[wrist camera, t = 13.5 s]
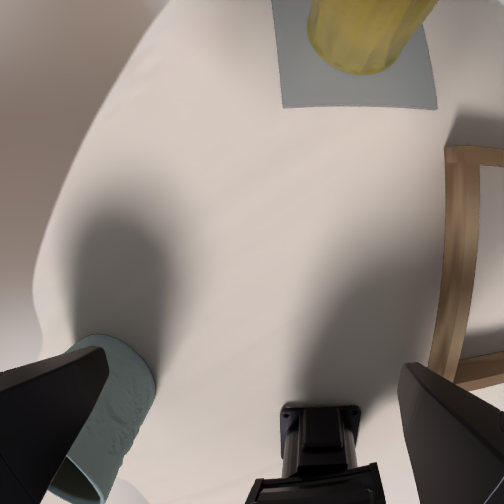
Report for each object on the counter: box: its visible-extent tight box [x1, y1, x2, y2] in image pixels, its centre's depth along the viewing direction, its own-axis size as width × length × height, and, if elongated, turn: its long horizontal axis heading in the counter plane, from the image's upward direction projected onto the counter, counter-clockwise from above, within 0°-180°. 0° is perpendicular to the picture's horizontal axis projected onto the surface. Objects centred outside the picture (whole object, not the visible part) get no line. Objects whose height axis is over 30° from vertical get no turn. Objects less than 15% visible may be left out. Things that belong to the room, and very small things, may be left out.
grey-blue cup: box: [48, 334, 155, 504], centre depth 20 cm, size 10×10×12 cm
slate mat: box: [271, 0, 438, 110], centre depth 16 cm, size 10×10×1 cm
